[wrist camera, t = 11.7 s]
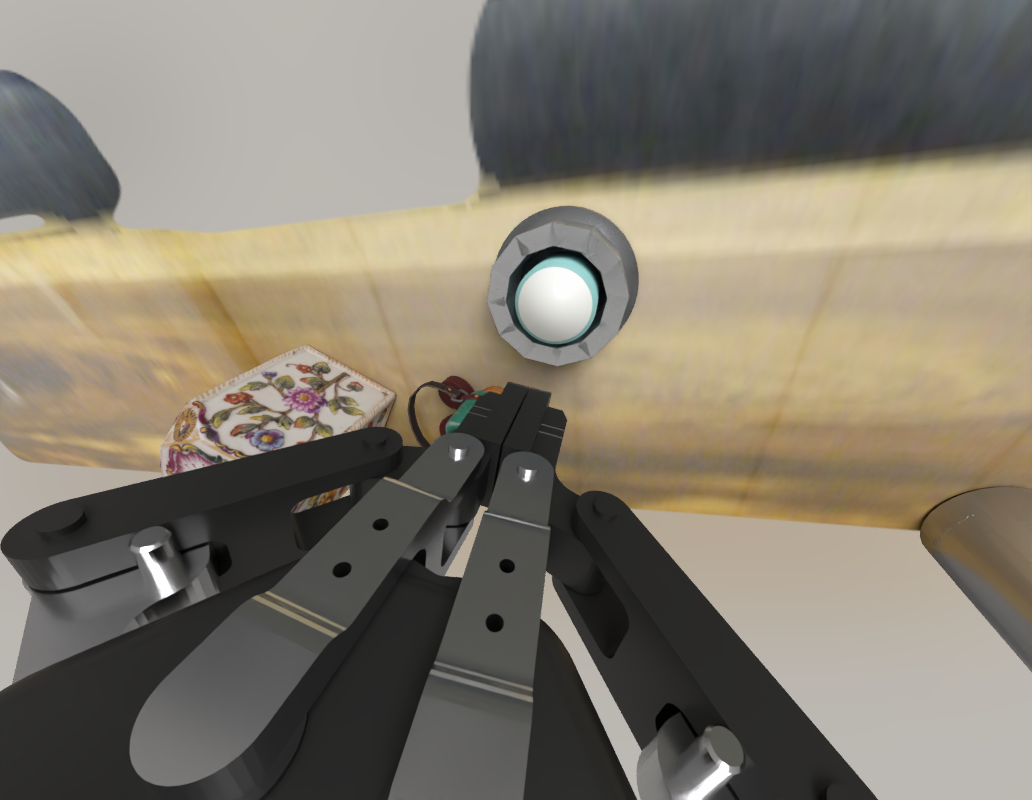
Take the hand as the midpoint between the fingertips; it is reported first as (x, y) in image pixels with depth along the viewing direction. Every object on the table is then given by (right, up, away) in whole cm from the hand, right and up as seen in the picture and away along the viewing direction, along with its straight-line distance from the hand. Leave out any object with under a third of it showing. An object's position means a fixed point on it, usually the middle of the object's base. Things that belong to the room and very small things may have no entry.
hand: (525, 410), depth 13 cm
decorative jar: (-21, 0, +32) cm, 38 cm away
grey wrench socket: (+4, +10, +19) cm, 22 cm away
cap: (+4, +10, +19) cm, 21 cm away
